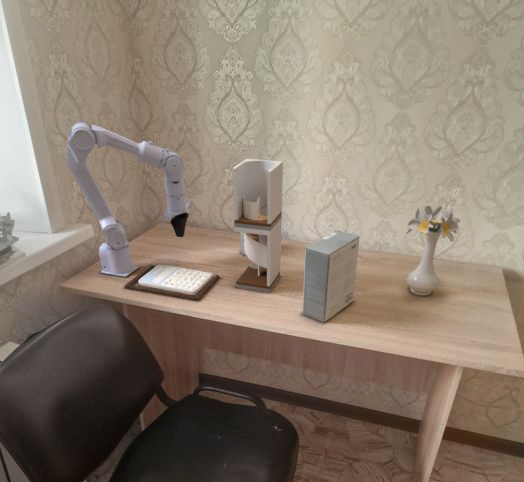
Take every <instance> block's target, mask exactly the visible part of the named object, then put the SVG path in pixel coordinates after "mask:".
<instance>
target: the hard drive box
mask: <svg viewBox="0 0 524 482" xmlns="http://www.w3.org/2000/svg"><path fill="white" fill-rule="evenodd" d="M359 247H360V236H359V235H356V234H352V233H348V232H345V231H341V230H337V229H336V230H334V231H332V232H331V233H329V234H327V235H325V236H323V237H321V238H320V239H318V240H316V241H315V242H313V243H311V244H309V245H307V246H305V247H304V264H303V265H304V267H303V270H304V271H303V288H302V289H303V290H302V291H303V292H302V315H304V316H306V317H308V318H311V319H314V320H316V321H318V322H321V323H325V322H326V321H328V320H330V319H331V318H333V317H334V316H335V315H336V314H337V313H340V311H342V310H343V309H345V308H347V306H349V305H350V304H351V303H353V301H354V294H355V287H356V276H357V275H356V274H357V266H358V264H357V263H358V256H359Z"/></svg>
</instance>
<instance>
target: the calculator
mask: <svg viewBox="0 0 524 482" xmlns="http://www.w3.org/2000/svg"><path fill="white" fill-rule="evenodd" d="M213 278H214V273H212V272H209V271H202V270H196V269H190V268H185V267H178V266H172V265H167V264H158V265H156V266H154V268H153V269H152V270H151V271H149V272H148V273H147V274H146V275H144V276H143V277H142V278H140V279H139V280H138V284H139V285H138V286H140V287H145V288H151V289H157V290H163V291H168V292H174V293H180V294H186V295H192V296H196V295H198V294H199V293H200V292H201V291H202V289H203V288H204V287H205V286H206V285H207V284H208V283H209V282H210V281H211V280H212V279H213Z"/></svg>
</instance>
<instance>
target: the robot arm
mask: <svg viewBox="0 0 524 482" xmlns="http://www.w3.org/2000/svg"><path fill="white" fill-rule="evenodd" d="M66 145H67V147H66V160H65V163H66V166H67V168H68V169H69V171H70V173H71V175H72V177H73V178H74V180H75V181H76V183H77V186H78V187H79V189H80V191H81V192H82V194H83V196H84V197H85V199H86V201H87V203H88V205H89V206H90V208H91V209H92V211H93V213H94V215H95V217H96V218H97V220H98V222H99V224H100V227H101V229H102V231H103V233H104V238H105V242H103V243H101V244H100V246H99V249H98V256H99V261H100V264H101V265H100V266H101V272H100V273H101V274H105V275H111V276H118V277H124V278H127V277H128V276H130V275H131V274H132V273H134V272H135V271H136V270H138V269H139V268H140V266H139V265H136V264H133V257H132V253H131V246H130V241H129V240H128V237H127V234H126V228H125V225H124V223H123V222H122V221H120V220H119V219H118V218H117V216H116V215H115V213H114V212H113V211H112V209H111V206H109V203H108V202H107V200H106V199H105V196H104V195H103V193H102V191H101V190H100V187H99V185H98V184H97V182H96V180H95V178H94V176H93V174H92V173H91V171H90V169H89V167H88V166H87V164H86V162H87V160H88V157H89V154H90V153H91V152H92V151H93V150H94V148H95V146H97V149H101V148H103V147H108V146H109V147H112V148H114V149H117V150H119V151H123V152H126V153H129V154H131V155H135V156H136V159H137V161H139V163H142V164H145V165H148V166H151V167H153V168H155V169H158V170H164V171H163V172H164V185H165V193H166V202H167V203H166V204H167V209H166V211H165V213H164V214H163V215H162V216H163V217H162V218H163V222H164V223H165V222H167V223H170V224H171V227H172V228H173V231H174V234H175V236H176V238H183V237H184V236H185V231H186V226H187V221H188V219H189V216H190V215H189V214H190V213H189V212H190V211H191V210H190V209H191V208H192V207H191V206H192V205H191V204H192V203H191V201H187V199H186V189H185V179H184V171H185V170H184V169H185V164H184V162H183V160H182V158H181V157H180V155H179V154H178V153H177V152H175V151H174V150H171V149H169V148H163V147H160V146H158V145H155V144H154V142H153V141H151V140H148V141H144V140H143V141H141V142H139V143H138V142H136V141H134V140H131V139H130V138H127V137H124V136H122V135H120V134H117V133H116V132H113V131H111V130H109V129H106V128H104V127H101V126H99V125H95V124H89V123H88V122H86V121H77V122H75V123H73V124H72V126H71V128H70V130H69V133H68V135H67V144H66Z"/></svg>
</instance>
